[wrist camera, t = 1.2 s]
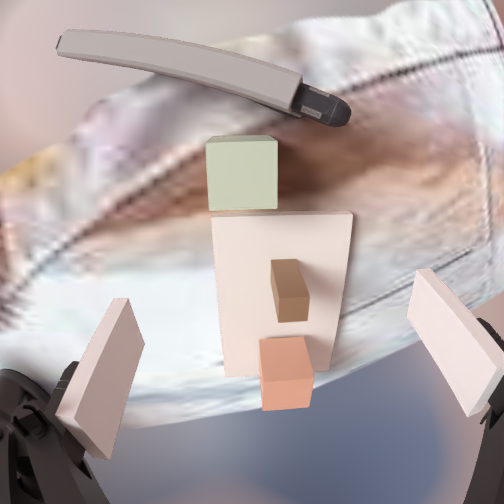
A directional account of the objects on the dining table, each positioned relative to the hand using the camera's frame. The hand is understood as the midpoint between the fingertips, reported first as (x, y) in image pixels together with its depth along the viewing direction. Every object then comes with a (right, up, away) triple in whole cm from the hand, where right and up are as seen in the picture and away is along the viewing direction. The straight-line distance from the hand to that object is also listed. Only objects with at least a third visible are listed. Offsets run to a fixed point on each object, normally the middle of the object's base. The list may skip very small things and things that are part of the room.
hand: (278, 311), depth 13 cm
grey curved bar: (-6, +19, +12) cm, 23 cm away
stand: (+2, -3, +22) cm, 23 cm away
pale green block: (-2, +11, +15) cm, 19 cm away
